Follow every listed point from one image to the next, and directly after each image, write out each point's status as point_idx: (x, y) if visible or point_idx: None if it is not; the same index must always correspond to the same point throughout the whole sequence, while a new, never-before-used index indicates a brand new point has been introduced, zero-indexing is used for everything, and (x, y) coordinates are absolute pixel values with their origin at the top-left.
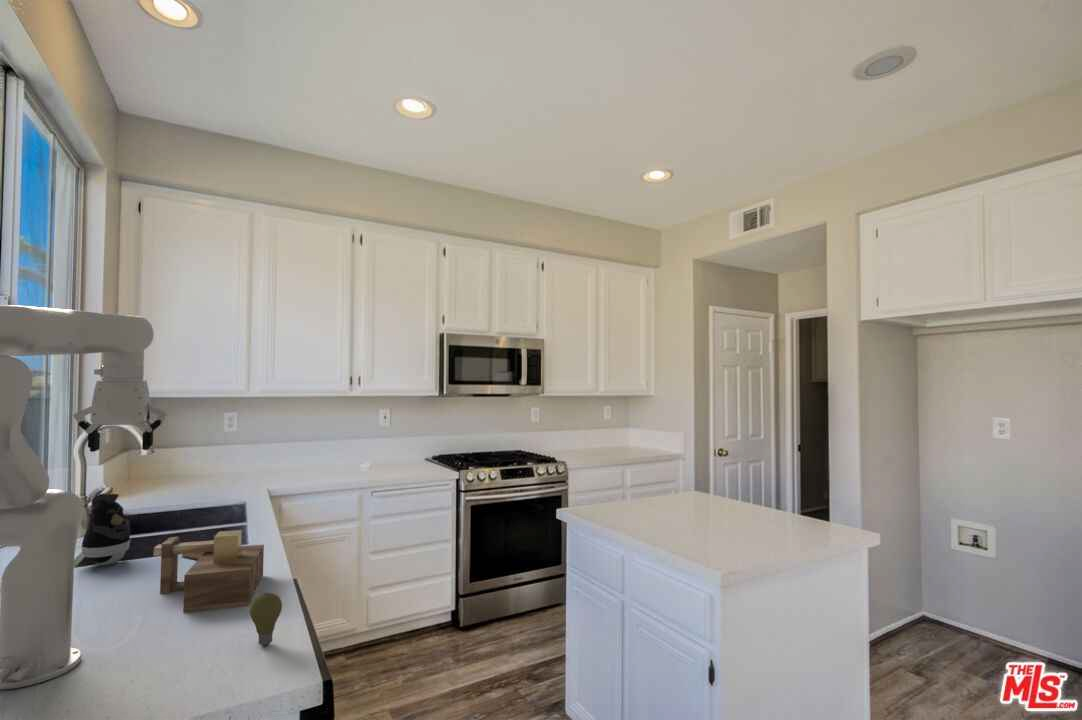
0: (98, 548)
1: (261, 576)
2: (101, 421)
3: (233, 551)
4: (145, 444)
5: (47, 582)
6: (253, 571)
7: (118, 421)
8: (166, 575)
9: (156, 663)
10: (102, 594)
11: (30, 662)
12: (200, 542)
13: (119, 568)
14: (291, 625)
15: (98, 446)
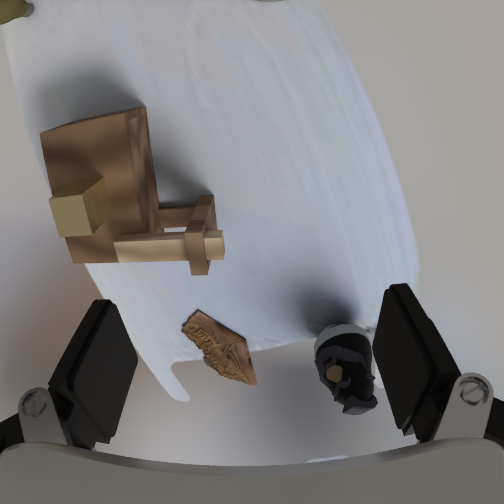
0: (346, 331)
1: None
2: (424, 480)
3: (69, 187)
4: (84, 319)
5: None
6: None
7: (209, 502)
8: (201, 207)
9: None
10: (301, 214)
11: None
12: (148, 254)
13: (315, 314)
14: (15, 60)
15: (379, 350)
